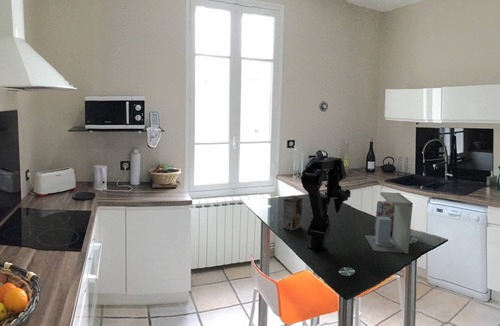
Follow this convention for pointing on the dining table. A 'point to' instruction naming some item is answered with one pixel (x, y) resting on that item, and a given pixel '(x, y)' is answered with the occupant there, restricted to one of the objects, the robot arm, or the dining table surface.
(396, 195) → the white open shelf
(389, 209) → the candy bar box
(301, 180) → the robot arm
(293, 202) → the coffee box
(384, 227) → the tall gray box
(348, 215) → the dining table surface
